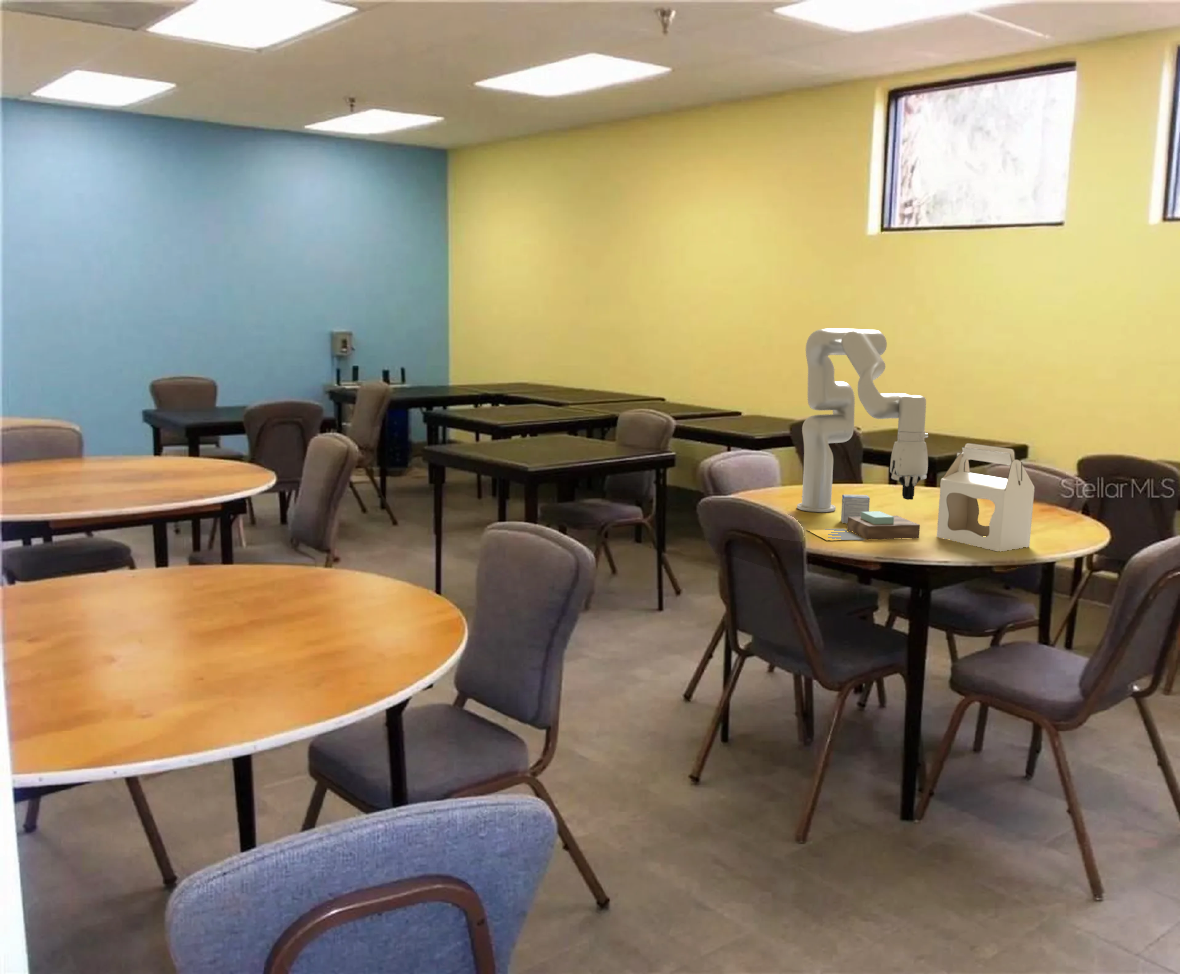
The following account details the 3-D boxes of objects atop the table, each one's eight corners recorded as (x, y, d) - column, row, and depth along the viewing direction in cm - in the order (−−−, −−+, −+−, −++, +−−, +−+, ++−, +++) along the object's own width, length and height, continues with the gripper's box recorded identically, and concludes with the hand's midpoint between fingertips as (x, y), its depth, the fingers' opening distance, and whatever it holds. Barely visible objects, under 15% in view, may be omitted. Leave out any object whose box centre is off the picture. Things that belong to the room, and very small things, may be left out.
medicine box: (866, 521, 323) (867, 494, 321) (868, 524, 318) (870, 497, 317) (840, 521, 324) (842, 494, 322) (842, 523, 319) (844, 496, 318)
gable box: (935, 537, 301) (942, 442, 297) (965, 532, 308) (972, 440, 304) (1000, 552, 283) (1008, 452, 278) (1030, 547, 290) (1039, 449, 285)
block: (860, 518, 307) (861, 511, 307) (879, 517, 309) (879, 511, 308) (874, 524, 299) (874, 517, 298) (893, 523, 300) (894, 517, 299)
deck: (847, 529, 310) (847, 516, 309) (896, 528, 313) (897, 515, 312) (867, 539, 296) (868, 526, 296) (918, 538, 299) (919, 524, 299)
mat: (806, 530, 308) (806, 529, 308) (843, 529, 310) (843, 528, 310) (826, 541, 294) (826, 540, 293) (865, 540, 296) (865, 539, 296)
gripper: (927, 435, 306) (924, 496, 309) (881, 436, 303) (878, 497, 306) (940, 438, 299) (937, 500, 301) (893, 439, 296) (890, 501, 299)
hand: (907, 498), depth 304 cm, fingers closed
